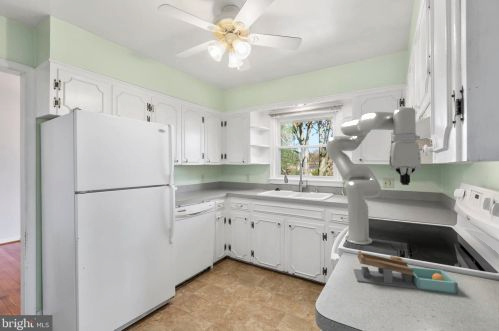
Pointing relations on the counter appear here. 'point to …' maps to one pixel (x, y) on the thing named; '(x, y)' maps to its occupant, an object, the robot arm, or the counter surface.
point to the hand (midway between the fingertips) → (405, 184)
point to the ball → (438, 277)
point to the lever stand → (384, 277)
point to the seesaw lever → (385, 263)
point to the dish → (433, 281)
